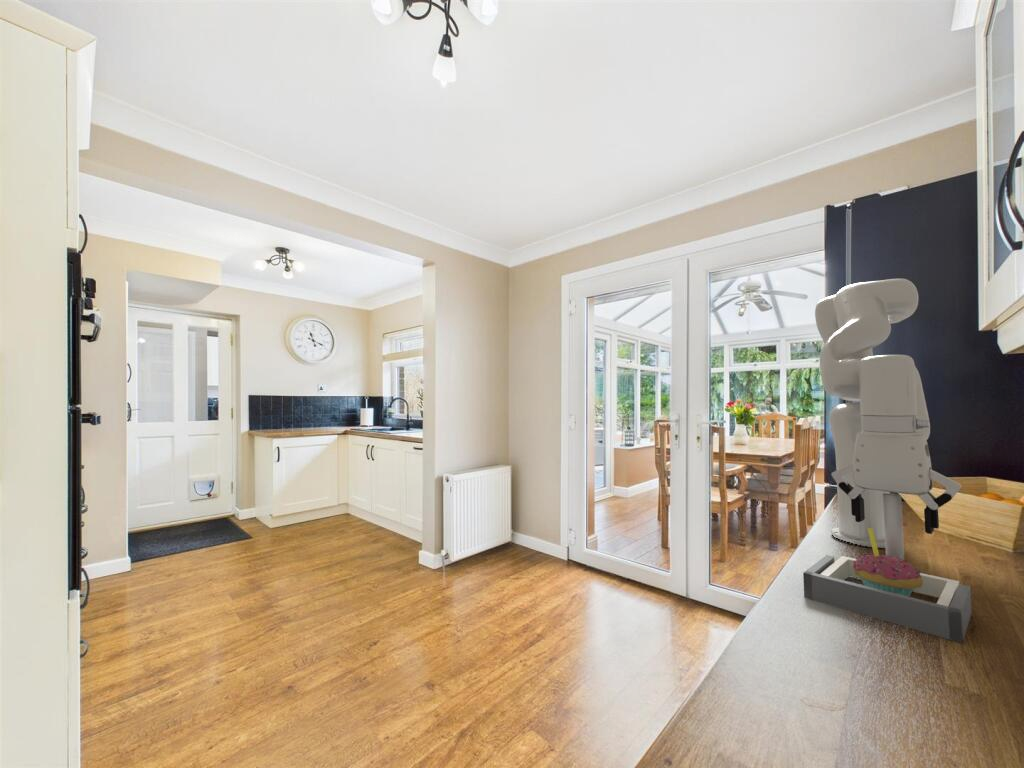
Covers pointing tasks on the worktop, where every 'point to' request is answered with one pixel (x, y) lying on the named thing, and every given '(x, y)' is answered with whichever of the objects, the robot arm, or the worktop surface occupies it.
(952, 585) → the collar
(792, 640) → the worktop surface
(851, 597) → the holder bay
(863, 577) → the pink frosted cake
